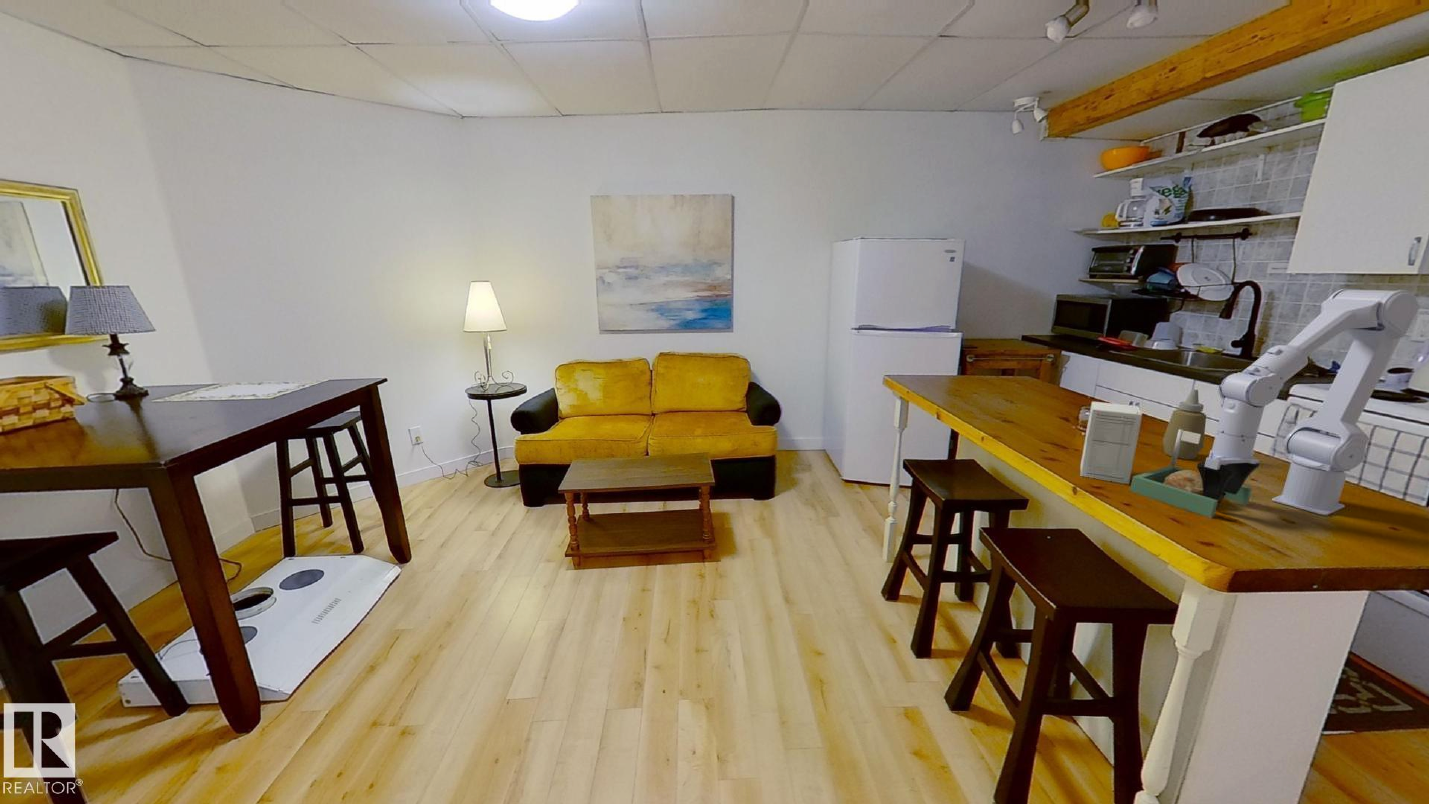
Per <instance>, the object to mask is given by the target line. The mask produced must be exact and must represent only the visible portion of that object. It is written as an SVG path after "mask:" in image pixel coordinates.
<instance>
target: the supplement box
mask: <svg viewBox="0 0 1429 804" xmlns="http://www.w3.org/2000/svg"><path fill="white" fill-rule="evenodd" d="M1089 408H1090V410H1089V416H1088V420H1087V425H1086V431H1085V438H1084V444H1083V448H1082V450H1083V451H1082V456H1081V461H1080V466H1079V467H1080V477H1082V476H1084V477H1083V478H1088V477H1089V478H1088V479H1094V478H1095V480H1101V481H1107V482H1111V481H1112V482H1113V483H1118V484H1123V485H1129V484H1130V480H1131V477H1132V476H1131V475H1132V470H1133V464H1134V461H1135V454H1136V449H1137V443H1138V440H1139V435H1140V434H1139V433H1140V428H1141V423H1142V417H1143V413H1142V411H1141V409H1140V406H1138V405H1130V404H1129V405H1128V404H1120V403H1112V402H1111V403H1110V402H1101V401H1091V405H1090V407H1089Z"/></svg>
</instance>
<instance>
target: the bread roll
mask: <svg viewBox="0 0 1429 804" xmlns="http://www.w3.org/2000/svg"><path fill="white" fill-rule="evenodd" d="M1163 484H1165V485H1169V486H1172V487H1175V488H1179V489H1182V490H1185V491H1188V492H1192V493H1195V494H1198V495H1202V496H1204V495H1203V484H1202V478H1201V475H1200V473H1199V471H1195V470H1190V469H1185V470H1183V471H1178V472H1175V473H1172V474H1170V475H1169V476H1168V477H1166V479H1165V481H1164V483H1163ZM1225 495H1226V493H1225V492H1224V491H1223V493H1222V495H1221V497H1220V499H1219V500H1218V502H1217V506H1216V508H1218V507H1220V506H1221V505H1222V504H1223V502H1224V499H1225V498H1224V496H1225Z"/></svg>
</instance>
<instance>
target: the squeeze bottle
mask: <svg viewBox="0 0 1429 804" xmlns="http://www.w3.org/2000/svg"><path fill="white" fill-rule="evenodd" d="M1204 406H1205V405H1204V404H1202V403H1200V401H1199V389H1195V388H1194V389H1191V391H1190V392H1189V394H1188V396H1187V398H1186V400H1185V401H1180V402H1179V405H1178V409H1175V410H1173V411H1172V414H1171V417H1170V419H1169V422H1168V425H1167V427H1166V429H1165V432H1164V436H1163V438H1162V443H1163V448H1164V454H1165V453H1166V454H1165V455H1167V456H1169V457H1171V458H1172V457H1173V452H1174V448H1175V443H1176V439H1177V435H1178V430H1179V429H1182V430H1183V431H1188V432H1192V433H1197V434H1201V437H1200V441H1199V444H1196V443H1191V442H1187V441H1183V440H1181V443H1180V447H1179V451H1178V456H1177V459H1180V458H1181V460H1194V459H1196V457H1198V454H1200V453H1201V451H1202V449H1203V448H1204V441H1205V434H1206V422H1207V414H1205V412H1203V411H1204Z"/></svg>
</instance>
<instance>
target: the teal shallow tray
mask: <svg viewBox="0 0 1429 804" xmlns="http://www.w3.org/2000/svg"><path fill="white" fill-rule="evenodd" d="M1200 437H1201V434H1197V433H1192V432H1188V431H1183V430H1182V429H1179V430H1178V435H1177V439H1176V443H1175V448H1174V452H1173V457H1172V456H1171V461H1170V465H1169V466H1165V467H1161V468H1158V469H1154V470H1151V471H1148V472H1145V473H1141V474H1136V475H1134V476H1132V480H1131V483H1130V488H1129V491H1130V492H1131V493H1135V494H1137V495H1141V496H1144V497H1145V498H1146V497H1147V498H1150V499H1153V500H1155V501H1159V502H1162V503H1165V504H1168V505H1171V506H1173V507H1176V508H1179V509H1182V510H1186V511H1189V512H1192V513H1195V514H1198V515H1201V516H1204V517H1208V518H1210V519H1211V518H1214V517H1215V513H1216V509H1217V507H1216V506H1217V502H1218V500H1215V499H1211V498H1208V497H1205V496H1202V495H1198V494H1195V493H1192V492H1188V491H1185V490H1182V489H1179V488H1175V487H1172V486H1169V485H1165V484H1163V483H1164V481H1165V479H1166V477H1168V476H1169V475H1170V474H1172V473H1175V472H1178V471H1183V470H1186V469H1184V468H1181V467H1178V466H1176V463H1177V461H1178V460H1177V459H1178V458H1177V456H1178V451H1179V447H1180V443H1181V440H1183V441H1187V442H1191V443H1196V444H1199V441H1200ZM1252 491H1253V488H1252V487H1250V486H1246V485H1244V484H1243V485H1242V487H1241V488H1240V490H1239V491H1238V493H1237V494H1231V493H1228V492H1225V493H1226V495H1225V496H1224V499H1226V500H1229V501H1232V502H1235V503H1239V504H1243V505H1247V504H1249V501H1250V498H1251V494H1252Z"/></svg>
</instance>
